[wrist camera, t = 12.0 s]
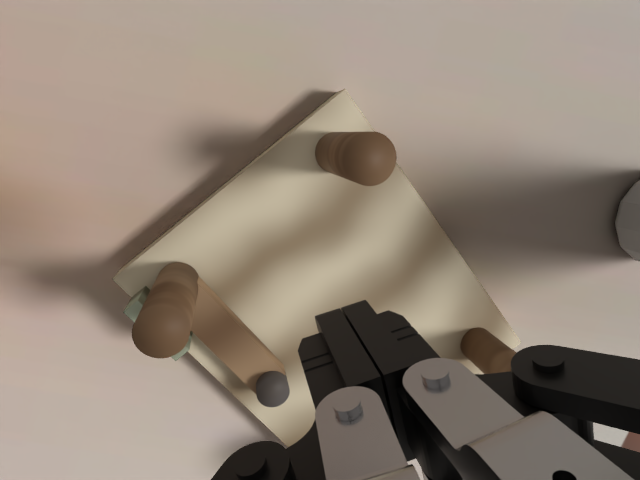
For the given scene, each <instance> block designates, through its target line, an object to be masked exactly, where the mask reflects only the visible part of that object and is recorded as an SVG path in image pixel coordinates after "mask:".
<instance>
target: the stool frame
mask: <svg viewBox="0 0 640 480" xmlns="http://www.w3.org/2000/svg"><path fill="white" fill-rule="evenodd" d="M175 262H182V263H186V264H188V265H190V266H192V267H193V268H194V269H195V270H196V272H197V273H198V275H199V277H200V278H201V279H202V280H203V281H204V282H205V283H206V284H207V285H208V286H209V287H210V288H211V289H212V290H213V291H214V292H215V293H216V294H217V296H218V297H219V298H220V299H221V300H222V301H223V302H224V303H225V304H226V305H227V306H228V307H229V308H230V309H231V310H232V311H233V312H234V313H235V314H236V315H237V316H238V318H239V319H240V320H241V321H242V322H243V323H244V324H245V325H246V326H247V327H248V328H249V329H250V330H251V331H252V332H253V333H254V334H255V335H256V336H257V337H258V338H259V339H260V341H261V342H262V343H263V344H264V345H265V346H266V347H267V348H268V349H269V350H270V351H271V352H272V353H273V354H274V355H275V356H276V357H277V358H278V359H279V360H280V361H281V362H282V364H283V365H284V369H285V372H286V376H287V380H288V385H289V389H290V393H289V397H288V399H287V400H286V401H285V402H284V403H283V404H282V405H280V406H277V407H266V406H264V405H262V404H261V403H260V402H259V401H258V399H257V395H256V394H255V393H254V392H253V391H252V390H251V389H250V388H249V387H248V386H247V385H246V384H245V383H244V382H243V381H242V380H241V379H240V378H239V377H238V376H237V375H236V374H235V373H234V372H233V371H232V370H231V369H230V368H229V367H228V366H227V365H226V364H225V363H223V362H222V361H221V360H220V359H219V358H218V357H217V356H216V355H215V354H214V353H213V352H212V351H211V350H210V349H209V348H208V347H207V346H206V345H205V344H204V343H203V342H202V341H201V340H200V339H199V338H198V337H197V336H196V335H195V334H194V333H193V332H192V331H190V336H189V340H188V342H187V344H186V346H185V347H184V348H183V349H182V350H181V351H180V352H179V353H177V354H175V355H173V356H171V357H172V358H173V359H174V360H175V361H176V360H178V359H179V358H180V357H181V356H183V355H184V354H185V353H186V352H187V351H188V352H189V353H190V354H191V355H192V356H193V357H194V358H195V359H196V360H197V361H198V362H199V363H200V364H201V365H202V366H204V367H205V368H206V369H207V370H208V371H209V372H210V373H211V374H212V375H213V376H214V377H215V378H216V379H217V380H218V381H219V382H220V383H221V384H222V385H223V386H224V387H226V388H227V389H228V390H229V391H230V392H231V393H232V394H233V395H234V396H235V397H236V398H237V399H238V400H239V401H240V402H241V403H242V404H243V405H244V406H245V407H246V408H248V409H249V410H250V411H251V412H252V413H253V414H254V415H255V416H256V417H257V418H258V419H259V420H260V421H261V422H262V423H263V424H264V425H265V426H266V427H267V428H268V429H270V430H271V431H272V432H273V433H274V434H275V435H276V436H277V437H278V438H279V439H280V440H281V441H282V442H283V443H284V444H285V445H286V446H287V447H290V446H291V445H293V444H294V443H296V442H297V441H299V440H300V439H301V438H302V437H303V436H304V435H306V433H307V432H308V431H309V430H310V428H311V427H312V425H313V423H314V421H315V412H316V410H315V407H314V404H313V400H312V397H311V394H310V391H309V387H308V384H307V380H306V377H305V374H304V370H303V367H302V364H301V360H300V357H299V354H298V348H299V345H300V343H301V340H302V338H305V337H308V336H311V335H315V334H318V333H319V332H318V328H317V325H316V321H315V316H316V315H319V314H322V313H325V312H328V311H332V310H335V309H338V308H340V310H341V307H344V306H347V305H350V304H353V303H356V302H359V301H362V300H366V301H367V302H368V303H369V304H370V306H371V307H372V308H373V309H374V311H375V312H376V313H377V314H379V313H382V312H385V311H388V310H390V311H392V312H395V313H397V314H400V315H402V316H404V318H405V319H406V320H407V321H408V322H409V323H410V324H411V326H412V327H413V328H414V329H415V330H416V331H417V332H418V334H420V335H421V336H422V337H423V339H424V340H425V341H426V342H427V343H428V344H429V345H430V346H431V347H432V349H433V350H434V351H435V352H436V353H437V354H438V355H439V356H440V357H441V358H447V359H452V360H455V361H458V362H460V363H461V364H463V365H464V366H465V367H467V368H468V369H469V370H470V371H471V372H472V373H473V374H491V373H500V372H509V371H511V360H512V357H513V356H514V355H515V354H516V352H515V351H514V350H513V349H514V348H515V347H516V346H518V345H519V344H520V343H521V341H520V340H519V338H518V337H517V335H516V334H515V332H514V331H513V330H512V328H511V327H510V325H509V324H508V322H507V321H506V320H505V318H504V317H503V315H502V314H501V312H500V311H499V309H498V308H497V307H496V305H495V304H494V302H493V301H492V299H491V298H490V297H489V295H488V294H487V292H486V291H485V289H484V288H483V286H482V285H481V284H480V282H479V281H478V279H477V278H476V276H475V275H474V273H473V272H472V271H471V269H470V268H469V266H468V265H467V263H466V262H465V261H464V259H463V258H462V256H461V255H460V253H459V252H458V250H457V249H456V248H455V246H454V245H453V243H452V242H451V240H450V239H449V238H448V236H447V235H446V233H445V232H444V230H443V229H442V227H441V226H440V225H439V223H438V222H437V220H436V219H435V217H434V216H433V214H432V213H431V212H430V210H429V209H428V207H427V206H426V204H425V203H424V202H423V200H422V199H421V197H420V196H419V194H418V193H417V191H416V190H415V189H414V187H413V186H412V184H411V183H410V181H409V180H408V179H407V177H406V176H405V174H404V173H403V171H402V170H401V168H400V167H399V166H398V164H397V163H396V151H395V148H394V145H393V144H392V142H391V141H390V140H389V139H388V138H387V137H386V136H385V135H383V134H381V133H378V132H375V131H374V130H373V128H372V127H371V125H370V124H369V122H368V121H367V120H366V118H365V117H364V115H363V114H362V112H361V111H360V109H359V108H358V107H357V105H356V104H355V102H354V101H353V99H352V98H351V96H350V95H349V94H348V92H347V91H346V89H344V90H341V91H338V92H337V93H335V94H334V95H333V96H332V97H330V98H329V99H328V100H327V101H326V102H324V103H323V104H322V105H321V106H319V107H318V108H317V109H316V110H315V111H313V112H312V113H311V114H310V115H308V116H307V117H306V118H305V119H304V120H302V121H301V122H300V123H299V124H297V125H296V126H295V127H294V128H292V129H291V130H290V131H289V132H288V133H286V134H285V135H284V136H283V137H281V138H280V139H279V140H278V141H277V142H275V143H274V144H273V145H272V146H270V147H269V148H268V149H267V150H266V151H264V152H263V153H262V154H261V155H259V156H258V157H257V158H256V159H255V160H253V161H252V162H251V163H250V164H248V165H247V166H246V167H245V168H244V169H242V170H241V171H240V172H239V173H237V174H236V175H235V176H234V177H233V178H231V179H230V180H229V181H228V182H226V183H225V184H224V185H223V186H222V187H220V188H219V189H218V190H217V191H215V192H214V193H213V194H212V195H210V196H209V197H208V198H207V199H206V200H204V201H203V202H202V203H201V204H199V205H198V206H197V207H196V208H195V209H193V210H192V211H191V212H190V213H188V214H187V215H186V216H185V217H184V218H182V219H181V220H180V221H179V222H177V223H176V224H175V225H174V226H173V227H171V228H170V229H169V230H168V231H166V232H165V233H164V234H163V235H162V236H160V237H159V238H158V239H157V240H155V241H154V242H153V243H152V244H151V245H149V246H148V247H147V248H146V249H144V250H143V251H142V252H141V253H140V254H138V255H137V256H136V257H135V258H133V259H132V260H131V261H130V262H128V263H127V264H126V265H125V266H124V267H122V268H121V269H120V270H119V271H118V273H117V274H116V275H115V276H114V278H113V279H112V280H113V281H114V282H115V283H117V284H118V285H119V286H120V287H121V288H122V289H123V290H124V291H125V292H126V293H127V294H128V295H129V296H130V297H131V300H130V302H129V303H128V305H127V307H126V308H125V310H124V313H125V314H126V315H127V316H128V317H129V318H130V319H131V320H132V321H133V322H134V323H135V321H136V319H137V317H138V315H139V312H140V310H141V308H142V306H143V304H144V302H145V300H146V298H147V296H148V294H149V292H150V290H151V288H152V286H153V284H154V282H155V280H156V278H157V276H158V274H159V273H160V271H161V270H162V269H163V268H164V267H165V266H166V265H168V264H171V263H175Z"/></svg>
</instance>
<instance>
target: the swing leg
mask: <svg viewBox="0 0 640 480" xmlns="http://www.w3.org/2000/svg"><path fill="white" fill-rule="evenodd" d="M190 331H192V332H193V333H194V334H195V335H196V336H197V337H198V338H199V339H200V340H201V341H202V342H203V343H204V344H205V345H206V346H207V347H208V348H209V349H210V350H211V351H212V352H213V353H214V354H215V355H216V356H217V357H218V358H219V359H220V360H221V361H222V362H223V363H225V364H226V365H227V366H228V367H229V368H230V369H231V370H232V371H233V372H234V373H235V374H236V375H237V376H238V377H239V378H240V379H241V380H242V381H243V382H244V383H245V384H246V385H247V386H248V387H249V388H250V389H251V390H252V391H253V392H254V393H255V394H256V395H257V399H258V401H259V402H260V403H261V404H262V405H264V406H266V407H277V406H280V405H282V404H283V403H284V402H285V401H286V400H287V399H288V397H289V393H290V389H289V385H288V380H287V376H286V372H285V369H284V365H283V364H282V362H281V361H280V360H279V359H278V358H277V357H276V356H275V355H274V354H273V353H272V352H271V351H270V350H269V349H268V348H267V347H266V346H265V345H264V344H263V343H262V342H261V341H260V339H259V338H258V337H257V336H256V335H255V334H254V333H253V332H252V331H251V330H250V329H249V328H248V327H247V326H246V325H245V324H244V323H243V322H242V321H241V320H240V319H239V318H238V316H237V315H236V314H235V313H234V312H233V311H232V310H231V309H230V308H229V307H228V306H227V305H226V304H225V303H224V302H223V301H222V300H221V299H220V298H219V297H218V296H217V294H216V293H215V292H214V291H213V290H212V289H211V288H210V287H209V286H208V285H207V284H206V283H205V282H204V281H203V280H202V279H201V278H200V277H199V275H198V273H197V272H196V270H195V269H194V268H193V267H192V266H190V265H188V264H186V263H182V262H175V263H171V264H168V265H166V266H165V267H164V268H163V269H162V270H161V271H160V273H159V274H158V276H157V278H156V280H155V282H154V284H153V286H152V288H151V290H150V292H149V294H148V296H147V298H146V300H145V302H144V304H143V306H142V308H141V310H140V312H139V315H138V317H137V319H136V321H135V323H134V325H133V328H132V338H133V341H134V344H135V345H136V347H137V348H138V349H139V350H140V351H141V352H142V353H144V354H145V355H148V356H150V357H154V358H167V357H171V356H173V355H175V354H177V353H179V352H180V351H181V350H182V349H183V348H184V347H185V346H186V344H187V342H188V340H189V336H190Z"/></svg>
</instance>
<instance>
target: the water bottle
mask: <svg viewBox="0 0 640 480" xmlns="http://www.w3.org/2000/svg"><path fill="white" fill-rule="evenodd" d="M615 226H616V231H617V235H618V240H619V243H620V246H621V248H622V249H624V250H625V251H626V252H627V253H628V254H629V255H630V256H631V257H632V258H634V259H635V260H637V261H640V180H639V181H638V182H636V183H635V184H634V185H633V186H632V187H631V189H630V190H629V191H628V192H627V194H626V195H625V196H624V198H623V199H622V200H621V201H620V205H619V209H618V213H617V217H616V220H615Z"/></svg>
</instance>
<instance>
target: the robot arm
mask: <svg viewBox="0 0 640 480" xmlns="http://www.w3.org/2000/svg"><path fill="white" fill-rule="evenodd" d="M315 321H316V325H317V328H318V332H319V333H318V334H315V335H311V336H308V337H305V338H302V340H301V343H300V345H299V348H298V354H299V357H300V360H301V364H302V367H303V370H304V374H305V377H306V380H307V384H308V387H309V391H310V394H311V397H312V400H313V404H314V407H315V410H316V412H315V421H314V423H313V425H312V427H311V428H310V430H309V431H308V432H307V433H306V435H304V436H303V437H302V438H301V439H300V440H299V441H297V442H296V443H294V444H293V445H291V446H290V447H288V448H287V449H285V448H284V447H283V446H282V445H280V444H278V443H276V442H271V441H260V442H255V443H252V444H249V445H247V446H244V447H243V448H241V449H239V450H237V451H236V452H235V453H233V454H232V455H231V456H230V457H229V458H228V459H227V460H226V461H225V462H224V463H223V465H222V466H221V467H220V469H219V470H218V471H217V472H216V474H215V475H214V476H213V478H212V479H211V480H420V478H419V476H418V474H417V471H416V469H415V468H414V466H413V465H412V464H411V465H408V463H407V461H410V460H413V459H415V458H416V459H417V461H418V462H419V464H420V466H421V468H422V473H423V478H424V480H640V453H639V452H636V451H632V450H629V449H625V448H622V447H618V446H615V445H611V444H608V443H604V442H601V441H597V440H594V434H593V422H595V423H599V424H602V425H606V426H610V427H614V428H618V429H622V430H625V431H629V432H633V433H637V434H640V360H638V359H632V358H626V357H620V356H614V355H608V354H602V353H597V352H591V351H585V350H579V349H573V348H567V347H561V346H554V345H537V346H531V347H527V348H525V349H522V350H520V351H519V352H517V353H516V354H515V355H514V356H513V357H512V360H511V371H509V372H500V373H491V374H473V373H472V372H471V371H470V370H469V369H468V368H467V367H465V366H464V365H463V364H461V363H460V362H458V361H455V360H452V359H447V358H441V357H440V356H439V355H438V354H437V353H436V352H435V351H434V350H433V349H432V347H431V346H430V345H429V344H428V343H427V342H426V341H425V340H424V339H423V337H422V336H421V335H420V334H418V332H417V331H416V330H415V329H414V328H413V327H412V326H411V324H410V323H409V322H408V321H407V320H406V319H405V318H404V316H402V315H400V314H397V313H395V312H392V311H390V310H388V311H385V312H382V313H379V314H377V313H376V312H375V311H374V309H373V308H372V307H371V306H370V304H369V303H368V302H367V301H366V300H362V301H359V302H356V303H353V304H350V305H347V306H344V307H341V310H340V308H338V309H335V310H332V311H328V312H325V313H322V314H319V315H316V316H315Z"/></svg>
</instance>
